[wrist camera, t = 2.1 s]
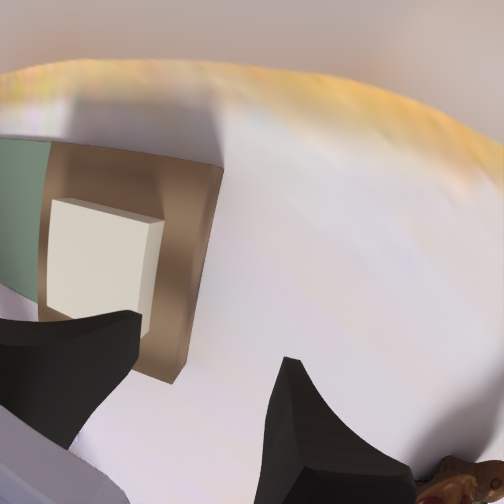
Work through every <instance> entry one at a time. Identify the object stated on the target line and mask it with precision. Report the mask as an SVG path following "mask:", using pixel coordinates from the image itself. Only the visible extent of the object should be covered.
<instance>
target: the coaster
mask: <svg viewBox="0 0 504 504" xmlns="http://www.w3.org/2000/svg"><path fill="white" fill-rule="evenodd" d="M164 222H165V220H161V219H157V218H153V217H149V216H145V215H141V214H137V213H133V212H128V211H124V210H120V209H116V208H112V207H108V206H104V205H100V204H95V203H91V202H87V201H83V200H79V199H75V198H64V199H52V207H51V216H50V227H49V240H48V257H47V306H48V307H50V308H52V309H54V310H56V311H59V312H61V313H63V314H65V315H67V316H69V317H71V318H73V319H78V318H84V317H90V316H95V315H100V314H105V313H110V312H115V311H121V310H132V311H135V312H137V313H140V314H143V316H142V326H141V336H140V339H141V338H142V337H143V336H144V335H145V334H146V333H147V332H148V331H149V325H150V316H151V308H152V300H153V292H154V285H155V278H156V271H157V264H158V258H159V251H160V245H161V239H162V233H163V228H164Z"/></svg>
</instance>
